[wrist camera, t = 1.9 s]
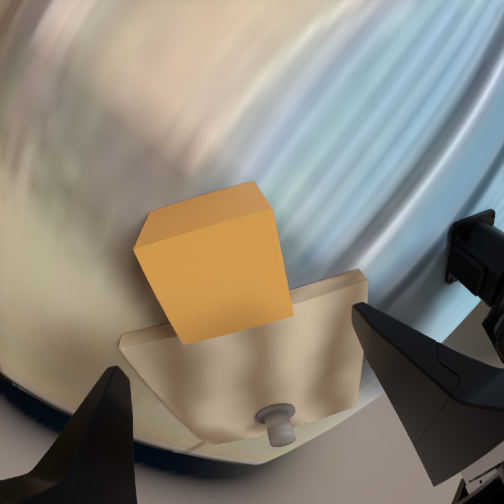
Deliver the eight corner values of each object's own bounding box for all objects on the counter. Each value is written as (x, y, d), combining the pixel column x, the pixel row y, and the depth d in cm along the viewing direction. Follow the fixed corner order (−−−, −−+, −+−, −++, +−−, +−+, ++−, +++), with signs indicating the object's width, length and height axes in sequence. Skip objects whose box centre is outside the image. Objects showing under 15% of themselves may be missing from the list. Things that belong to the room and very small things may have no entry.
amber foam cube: (253, 180, 15) (272, 208, 11) (274, 269, 18) (293, 315, 14) (150, 211, 15) (133, 249, 11) (185, 294, 18) (183, 344, 14)
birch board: (358, 268, 19) (394, 311, 15) (351, 395, 29) (367, 428, 25) (121, 333, 19) (110, 387, 14) (206, 435, 28) (210, 470, 24)
